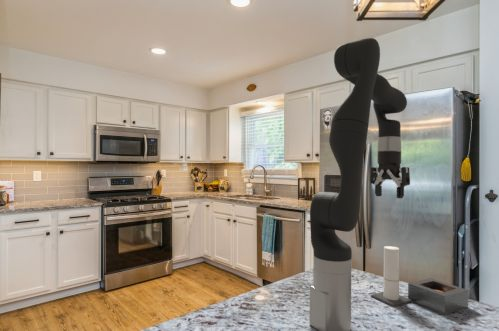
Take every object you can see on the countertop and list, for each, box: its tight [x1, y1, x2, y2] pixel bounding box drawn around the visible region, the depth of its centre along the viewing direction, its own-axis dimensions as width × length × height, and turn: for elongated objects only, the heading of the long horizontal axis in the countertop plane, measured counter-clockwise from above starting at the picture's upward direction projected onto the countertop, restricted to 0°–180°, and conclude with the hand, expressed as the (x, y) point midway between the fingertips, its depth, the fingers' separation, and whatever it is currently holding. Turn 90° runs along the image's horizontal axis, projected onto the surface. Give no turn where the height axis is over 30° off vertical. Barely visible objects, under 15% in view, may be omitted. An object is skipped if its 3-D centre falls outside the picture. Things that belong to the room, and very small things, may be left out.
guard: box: [407, 277, 469, 316], centre depth 92 cm, size 11×11×5 cm
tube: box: [383, 245, 400, 300], centre depth 95 cm, size 4×4×15 cm
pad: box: [370, 291, 412, 308], centre depth 94 cm, size 8×8×1 cm
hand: (388, 197), depth 108 cm, fingers open, 8 cm apart
